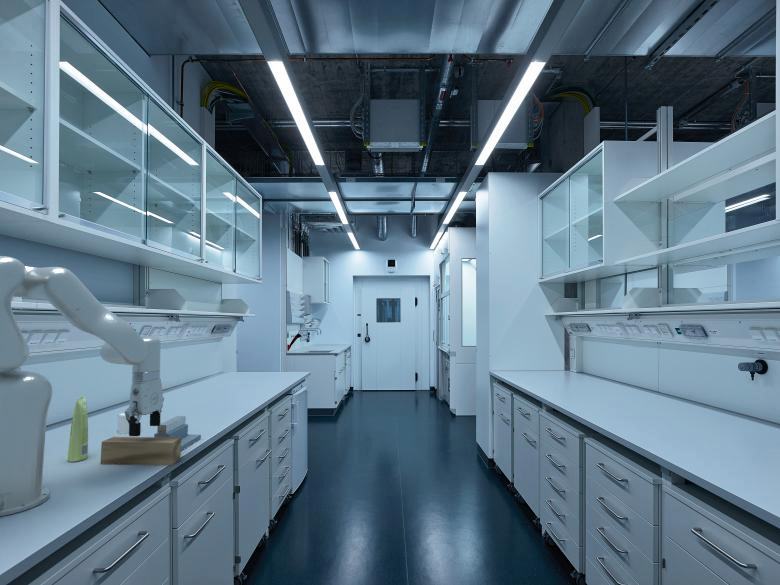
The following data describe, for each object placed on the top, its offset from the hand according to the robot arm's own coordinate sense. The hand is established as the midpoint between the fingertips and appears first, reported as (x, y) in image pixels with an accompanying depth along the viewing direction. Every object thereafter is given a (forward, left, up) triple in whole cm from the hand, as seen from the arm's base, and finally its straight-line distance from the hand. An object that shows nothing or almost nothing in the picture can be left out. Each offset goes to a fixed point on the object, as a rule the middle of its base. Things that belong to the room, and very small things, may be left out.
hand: (145, 430), depth 121 cm
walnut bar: (-1, 0, -10) cm, 10 cm away
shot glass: (+29, +26, -10) cm, 40 cm away
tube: (0, +21, -10) cm, 23 cm away
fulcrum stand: (+15, 0, -9) cm, 18 cm away
